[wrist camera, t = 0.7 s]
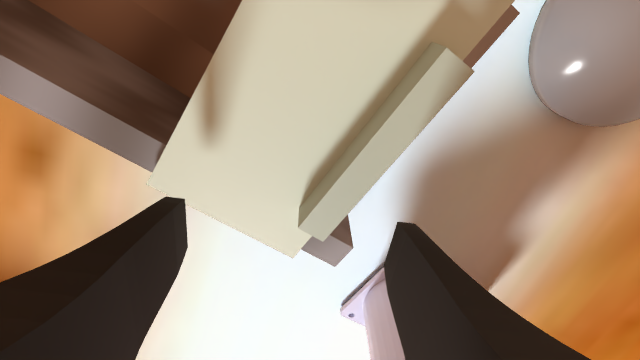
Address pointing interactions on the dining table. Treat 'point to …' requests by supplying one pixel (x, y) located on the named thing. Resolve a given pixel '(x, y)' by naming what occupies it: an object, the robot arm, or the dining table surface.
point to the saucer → (588, 60)
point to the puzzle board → (131, 72)
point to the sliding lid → (315, 108)
